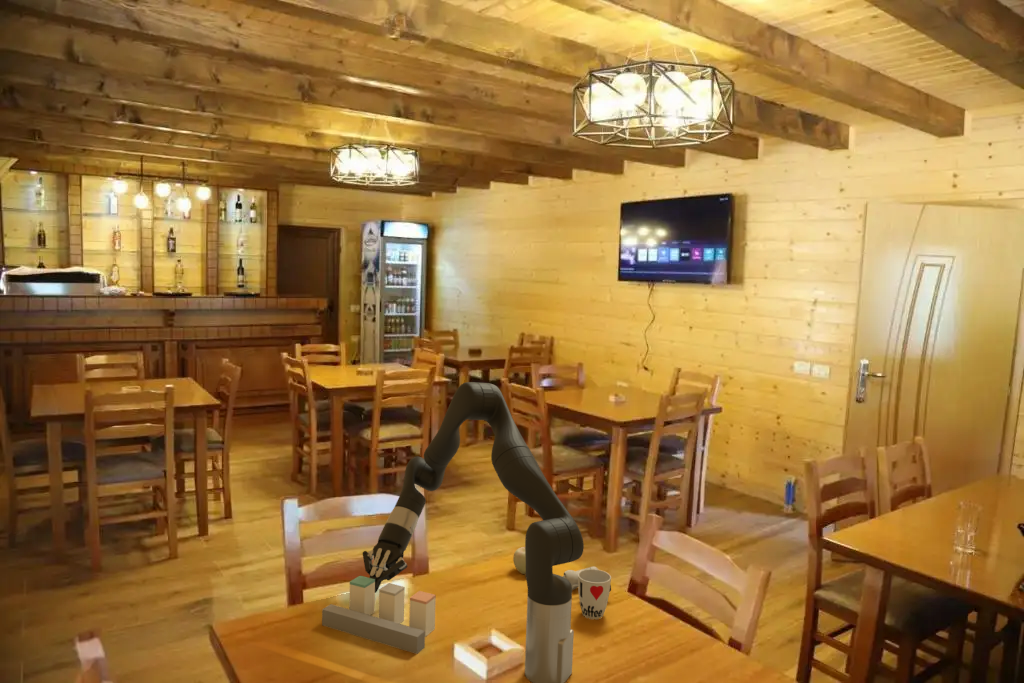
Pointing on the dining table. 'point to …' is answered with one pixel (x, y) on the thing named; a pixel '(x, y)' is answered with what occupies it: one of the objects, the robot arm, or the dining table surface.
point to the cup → (593, 592)
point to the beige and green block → (362, 595)
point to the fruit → (520, 560)
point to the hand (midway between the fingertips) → (369, 593)
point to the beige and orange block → (422, 612)
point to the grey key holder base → (374, 628)
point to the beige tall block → (391, 603)
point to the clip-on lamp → (575, 577)
